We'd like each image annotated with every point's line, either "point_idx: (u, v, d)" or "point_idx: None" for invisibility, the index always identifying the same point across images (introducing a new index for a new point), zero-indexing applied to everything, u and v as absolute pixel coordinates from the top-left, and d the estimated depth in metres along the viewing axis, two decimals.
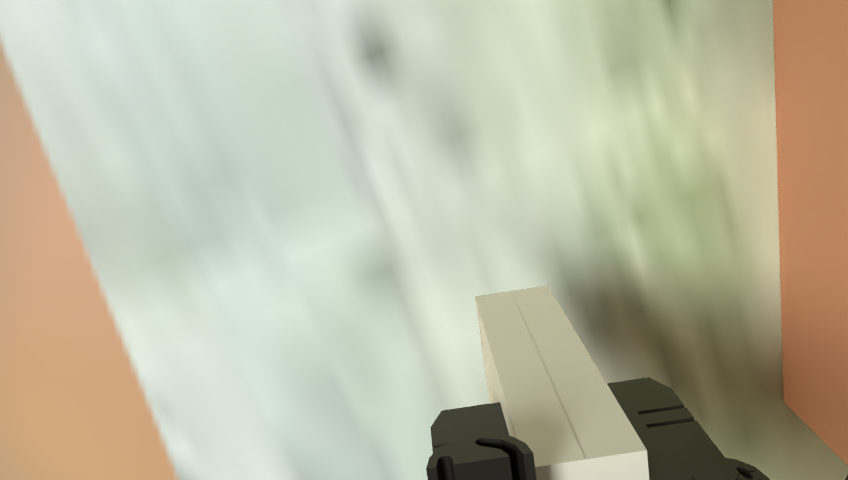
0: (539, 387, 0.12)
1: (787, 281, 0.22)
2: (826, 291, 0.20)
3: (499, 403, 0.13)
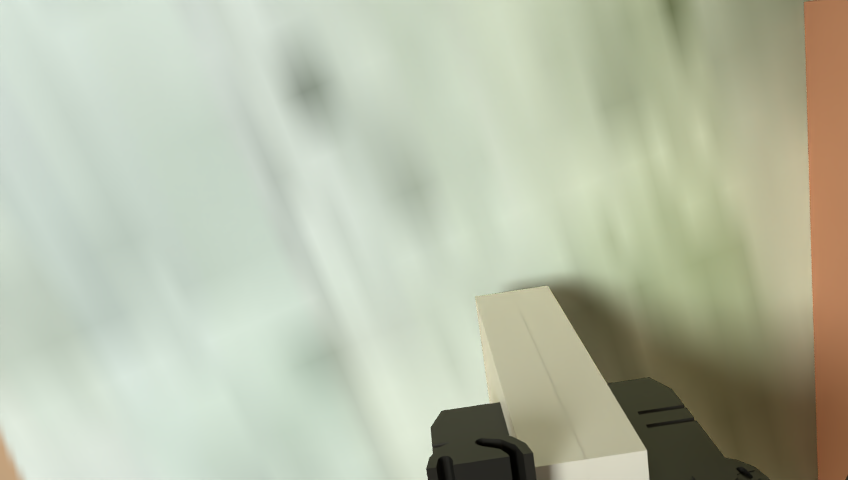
0: (539, 387, 0.12)
1: (823, 364, 0.18)
2: None
3: (499, 403, 0.13)
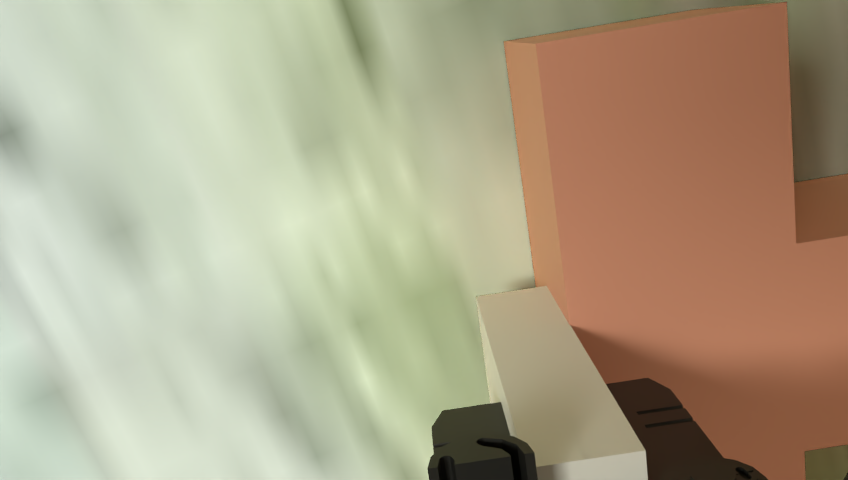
0: (538, 387, 0.12)
1: None
2: None
3: (500, 403, 0.13)
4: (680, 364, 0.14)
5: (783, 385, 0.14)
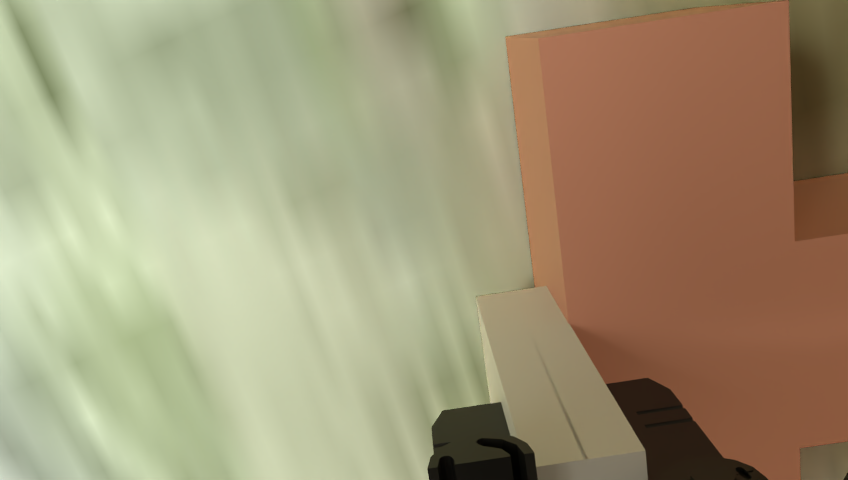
0: (538, 387, 0.12)
1: None
2: None
3: (500, 403, 0.13)
4: (677, 360, 0.14)
5: (779, 382, 0.14)
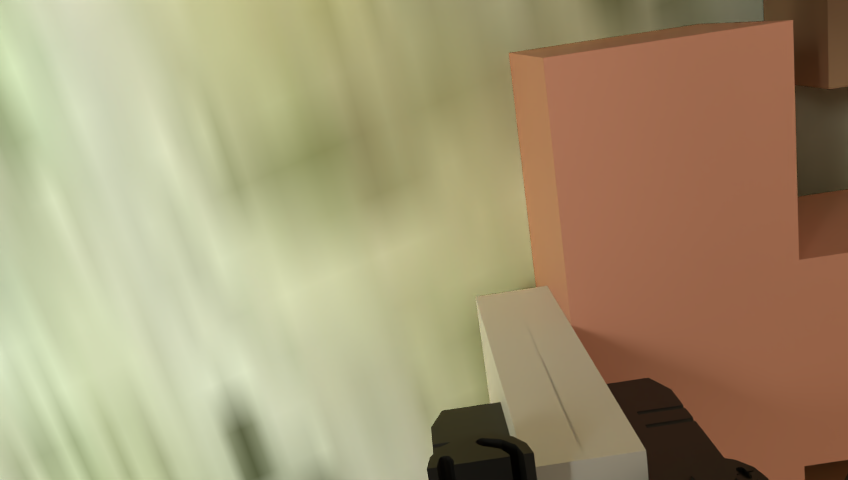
0: (538, 387, 0.12)
1: None
2: None
3: (499, 403, 0.13)
4: (681, 378, 0.14)
5: (784, 400, 0.14)
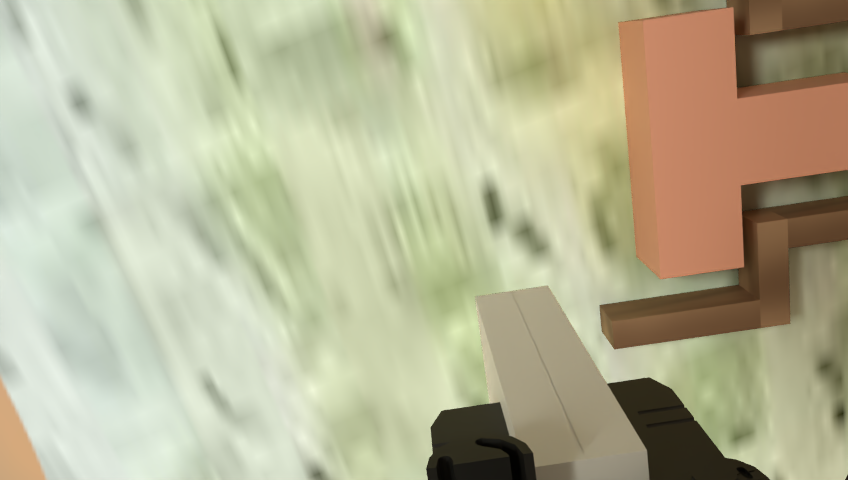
0: (539, 387, 0.12)
1: (633, 184, 0.40)
2: (645, 182, 0.38)
3: (499, 403, 0.13)
4: (692, 146, 0.36)
5: (732, 156, 0.36)
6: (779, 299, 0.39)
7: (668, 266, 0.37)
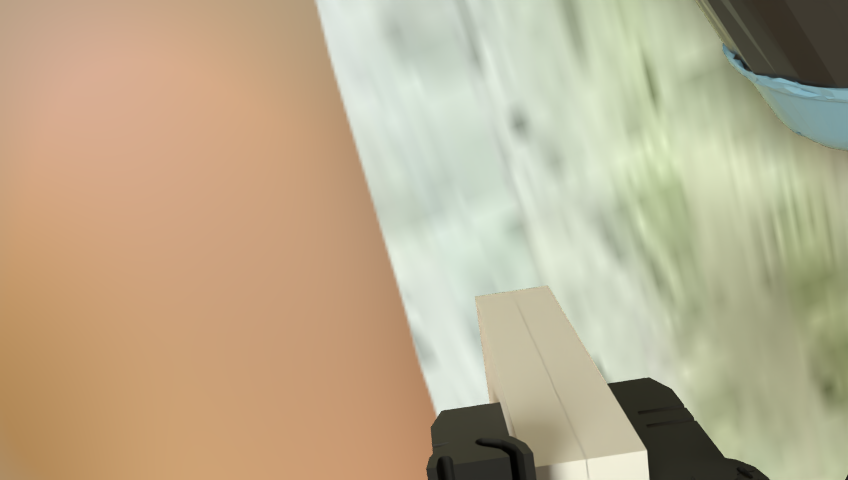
0: (539, 387, 0.12)
1: None
2: None
3: (499, 403, 0.13)
4: None
5: None
6: None
7: None
